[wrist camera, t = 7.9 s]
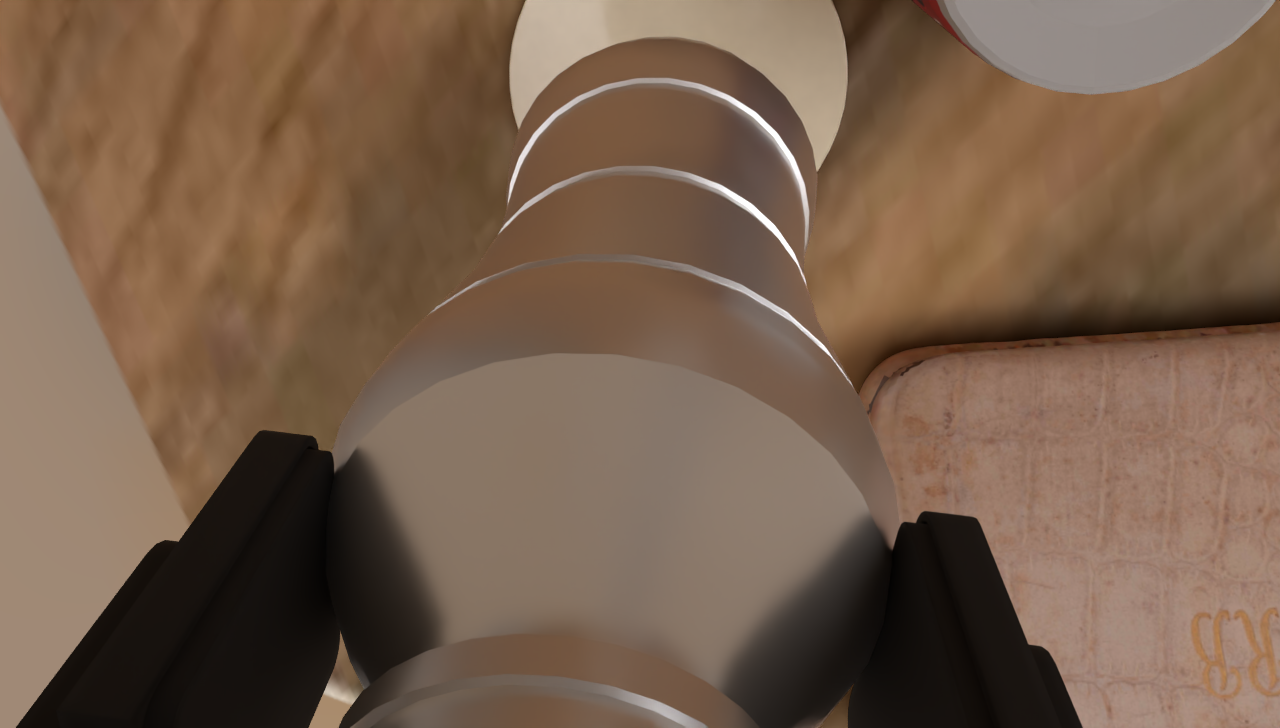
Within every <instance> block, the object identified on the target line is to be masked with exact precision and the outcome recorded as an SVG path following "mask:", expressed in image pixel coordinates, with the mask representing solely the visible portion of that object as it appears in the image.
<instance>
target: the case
mask: <svg viewBox="0 0 1280 728" xmlns="http://www.w3.org/2000/svg"><path fill="white" fill-rule="evenodd" d="M859 396H860V398H861V401H862V403H863V405H864V408H865V410H866V413H867V415H868V417H869V420H870V422H871V424H872V427H873V429H874V432H875V434H876V436H877V439H878V441H879V444H880V447H881V450H882V453H883V456H884V459H885V461H886V464H887V466H888V469H889V471H890V474H891V476H892V479H893V481H894V487H895V494H896V501H897V507H898V514H899V521H900V525H901V524H902V523H903V522H913V523H916V521H917V519H918V517H919V515H920V514H921V512H923V511H931V512H939V513H948V514H956V515H964V516H972V517H975V518H977V519H978V521H979V523H980V525H981V527H982V529H983V532H984V534H985V537H986V539H987V542H988V544H989V547H990V549H991V552H992V554H993V557H994V559H995V562H996V564H997V567H998V569H999V572H1000V574H1001V577H1002V579H1003V582H1004V584H1005V587H1006V589H1007V592H1008V594H1009V597H1010V599H1011V602H1012V604H1013V607H1014V609H1015V612H1016V614H1017V617H1018V619H1019V622H1020V624H1021V627H1022V629H1023V632H1024V634H1025V637H1026V639H1027V642H1028V644H1029V645H1036V646H1042V647H1043V648H1045V649H1046V650H1047V651H1049V653H1050V654H1051V656H1052V658H1053V660H1054V661H1055V663H1056V665H1057V668H1058V670H1059V672H1060V675H1061V677H1062V679H1063V682H1064V684H1065V686H1066V689H1067V691H1068V694H1069V696H1070V698H1071V701H1072V703H1073V705H1074V708H1075V710H1076V712H1077V715H1078V717H1079V719H1080V722H1081V724H1082V727H1083V728H1280V322H1276V323H1267V324H1256V325H1238V326H1224V327H1210V328H1198V329H1184V330H1172V331H1155V332H1139V333H1125V334H1116V335H1093V336H1076V337H1065V338H1042V339H1030V340H1021V341H1012V342H983V343H965V344H953V345H941V346H928V347H920V348H914V349H909V350H905V351H902V352H899V353H897V354H895V355H893V356H891V357H889V358H887V359H886V360H884V361H883V362H882V363H880V364H879V365H878V366H877V367H876V368H875V369H874V370H873V371H872V372H871V373H870V374H869V376H868V377H867V379H866V380H865V382H864V383H863V385H862V387H861V390H860V392H859Z"/></svg>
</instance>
